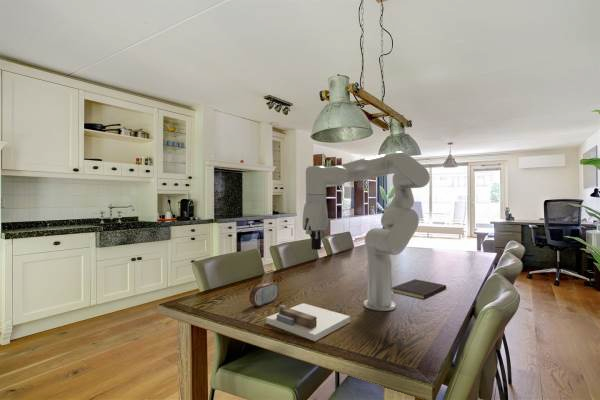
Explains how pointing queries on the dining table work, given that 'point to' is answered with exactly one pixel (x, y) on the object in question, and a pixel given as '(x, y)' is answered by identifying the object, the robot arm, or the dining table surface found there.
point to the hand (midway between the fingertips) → (316, 249)
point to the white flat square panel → (325, 325)
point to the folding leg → (299, 317)
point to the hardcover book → (419, 288)
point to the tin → (264, 293)
